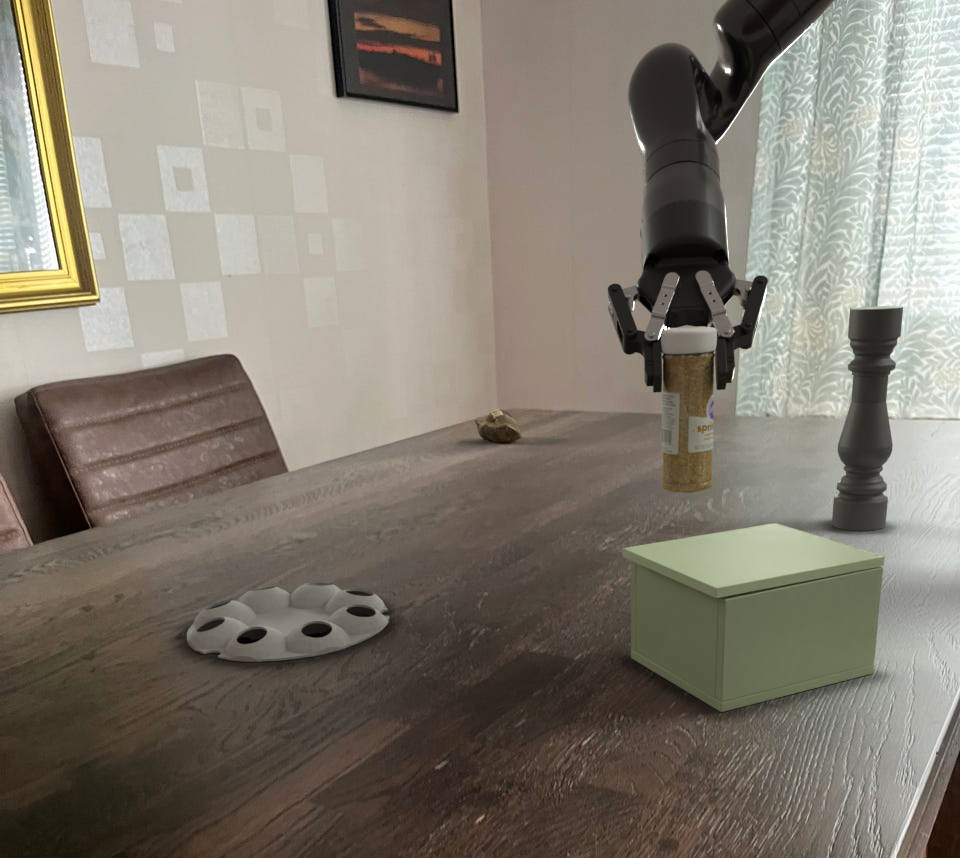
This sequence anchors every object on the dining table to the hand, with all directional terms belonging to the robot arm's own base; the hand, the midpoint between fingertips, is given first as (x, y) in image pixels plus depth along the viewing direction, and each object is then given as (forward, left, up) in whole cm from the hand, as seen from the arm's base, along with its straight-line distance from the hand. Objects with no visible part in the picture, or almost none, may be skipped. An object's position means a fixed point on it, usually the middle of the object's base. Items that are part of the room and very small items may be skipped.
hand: (689, 384), depth 83 cm
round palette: (+37, -6, -22) cm, 44 cm away
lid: (-3, +9, -13) cm, 16 cm away
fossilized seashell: (+17, -107, -22) cm, 111 cm away
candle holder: (-27, -34, -22) cm, 49 cm away
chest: (-4, +9, -22) cm, 24 cm away
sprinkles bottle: (0, -2, -9) cm, 9 cm away
